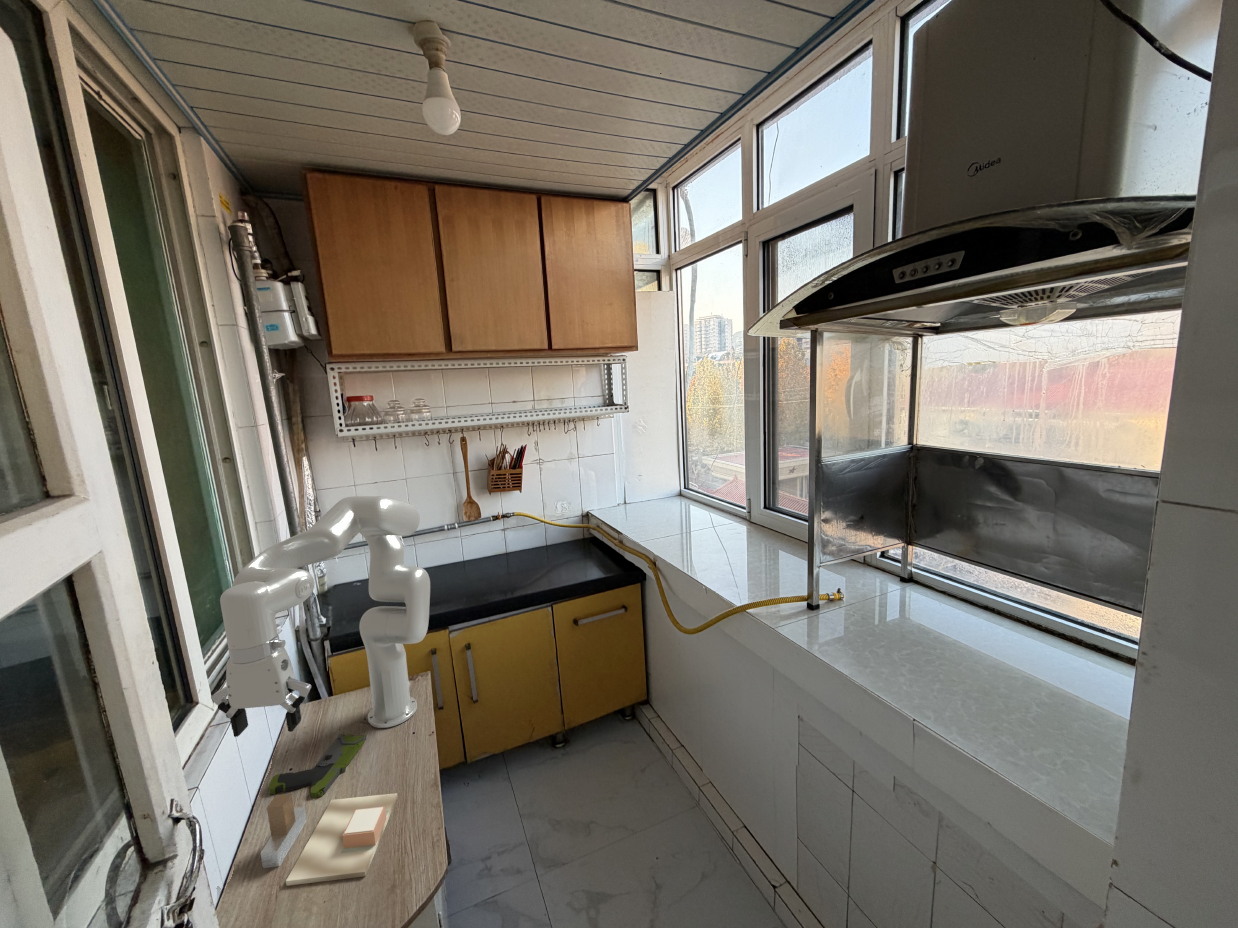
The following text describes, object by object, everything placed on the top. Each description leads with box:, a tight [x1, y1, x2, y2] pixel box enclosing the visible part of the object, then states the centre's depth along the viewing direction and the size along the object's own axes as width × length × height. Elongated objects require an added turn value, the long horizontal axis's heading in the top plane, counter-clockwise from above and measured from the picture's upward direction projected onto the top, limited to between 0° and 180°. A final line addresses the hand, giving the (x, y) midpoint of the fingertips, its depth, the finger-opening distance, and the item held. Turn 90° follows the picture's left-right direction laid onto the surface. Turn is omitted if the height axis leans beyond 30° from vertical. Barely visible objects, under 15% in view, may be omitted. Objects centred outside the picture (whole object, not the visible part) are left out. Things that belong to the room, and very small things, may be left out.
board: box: [285, 792, 399, 887], centre depth 100 cm, size 18×14×1 cm
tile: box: [342, 806, 387, 849], centre depth 100 cm, size 6×6×3 cm
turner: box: [260, 793, 308, 869], centre depth 98 cm, size 10×3×10 cm, turn 6°
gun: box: [268, 733, 367, 799], centre depth 119 cm, size 2×19×15 cm
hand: (268, 729), depth 95 cm, fingers open, 9 cm apart
